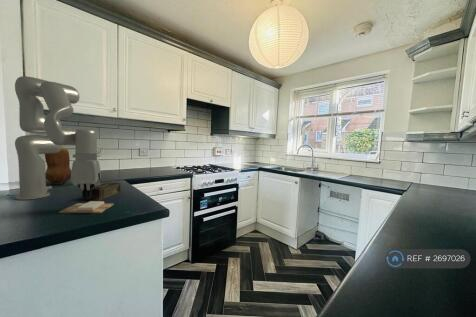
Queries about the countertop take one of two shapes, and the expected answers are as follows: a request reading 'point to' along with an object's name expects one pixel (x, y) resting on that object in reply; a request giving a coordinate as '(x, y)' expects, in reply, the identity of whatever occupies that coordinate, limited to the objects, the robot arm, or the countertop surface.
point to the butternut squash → (58, 167)
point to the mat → (74, 210)
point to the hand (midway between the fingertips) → (87, 198)
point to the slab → (90, 206)
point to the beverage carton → (104, 191)
